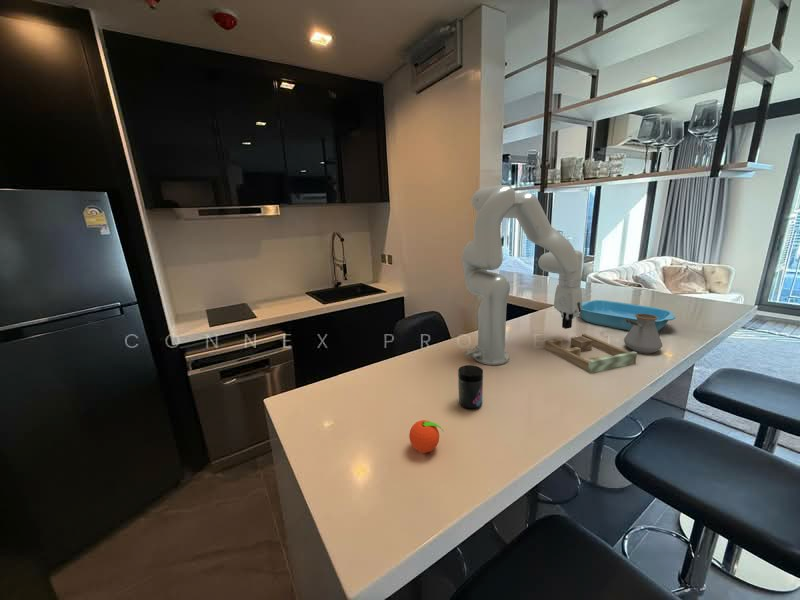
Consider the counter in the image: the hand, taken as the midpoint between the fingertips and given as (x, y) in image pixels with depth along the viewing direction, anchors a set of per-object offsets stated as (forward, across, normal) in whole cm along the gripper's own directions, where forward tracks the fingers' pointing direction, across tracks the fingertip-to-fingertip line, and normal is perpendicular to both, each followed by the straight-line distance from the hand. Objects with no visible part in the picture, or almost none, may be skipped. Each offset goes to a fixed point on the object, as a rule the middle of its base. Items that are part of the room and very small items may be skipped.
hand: (566, 327), depth 132 cm
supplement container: (+4, +27, -57) cm, 63 cm away
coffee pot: (+6, +19, +13) cm, 24 cm away
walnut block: (+6, +9, -1) cm, 10 cm away
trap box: (+5, +14, -3) cm, 16 cm away
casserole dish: (+7, -7, +36) cm, 37 cm away
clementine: (+4, +40, -75) cm, 85 cm away
